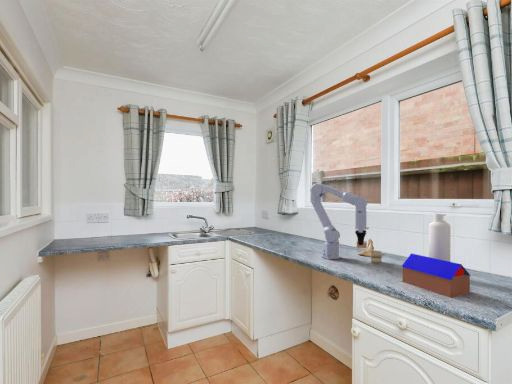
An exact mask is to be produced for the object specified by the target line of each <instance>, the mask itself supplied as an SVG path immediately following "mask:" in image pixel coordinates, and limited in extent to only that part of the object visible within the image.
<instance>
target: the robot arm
mask: <svg viewBox="0 0 512 384" xmlns="http://www.w3.org/2000/svg"><path fill="white" fill-rule="evenodd" d="M309 191H310V202H311V205H312V207H313V209H314V211H315V212H316V215H317V218H318V219H319V221H320V223H321V224H322V227H323V234H324V238H325V242H323V243H321V255H320V257H322V258H324V259H327V260H337V259H343V257H342V256H340V241H339V239H340V237H341V233H340V231H339V230H337V228H336V227H335V226H334V225H333V224H332V221H331V220H330V218H329V215H328V214H327V213H328V212H326V209H325V208H324V206H323V204H322V202H321V199H322V197H323V195H325V194H332V195H333V196H337V197H339V198H341V200H342V201H343V202H345V203H348V204H349V205H352V206H354V207H355V221H354V222H355V227H354V229H356V230H355V233H354V234H355V235H356V238H357V241H358V244H359V245H363V242H364V241H365V237H366V235H367V230H369V227H367V205H368V201H367V199H366V198H364V197H361V196H360V195H357V194H354V193H352V191H345V192H344V191H341V190H339V189H337V188H334V187H332V186H330V185H327V184H324V183H313V185H312V186H311V188H310V190H309Z"/></svg>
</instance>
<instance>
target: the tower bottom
mask: <svg viewBox="0 0 512 384" xmlns="http://www.w3.org/2000/svg"><path fill="white" fill-rule="evenodd" d="M370 262H371V264H380V265H382V257H381V258H371V257H370Z"/></svg>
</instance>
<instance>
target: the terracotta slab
mask: <svg viewBox="0 0 512 384" xmlns="http://www.w3.org/2000/svg"><path fill="white" fill-rule="evenodd" d="M367 246H368V240H367V241H365V240H364V242H363V245H359V244H358V240H356V248H358V249H359V248H360V249H367Z"/></svg>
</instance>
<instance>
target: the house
mask: <svg viewBox="0 0 512 384" xmlns="http://www.w3.org/2000/svg"><path fill="white" fill-rule="evenodd" d="M401 267H402V283H404V284H408V285H410V286H412V287H413V286H414V287H416V288H420V289H423V290H425V291H430V292H432V293H435V294H437V295H442V296H444V297H447V298H451V299H452V298H456V297H460V296H464V295H469V294H471V292H470V291H471V290H470V289H471V288H470V287H471V281H470V280H471V277H472V275H471V273H469V272H468V270H466V268H465V267H464V266H463V265H462V264H461V263H457V262H453V261H450V262H449V261H444V260H439V259H435V258H430V257H429V256H425V255H421V254H420V255H419V254H415V253H410V254H409V256H408V257H407V258H406V260H404V262H403V264H402V265H401Z"/></svg>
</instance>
